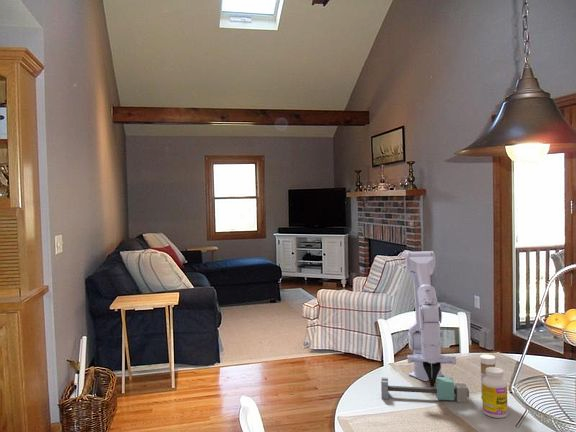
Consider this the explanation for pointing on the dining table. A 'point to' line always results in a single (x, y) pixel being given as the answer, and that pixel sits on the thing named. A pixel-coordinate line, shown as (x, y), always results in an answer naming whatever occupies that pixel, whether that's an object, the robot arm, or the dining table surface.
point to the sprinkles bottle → (486, 364)
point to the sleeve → (445, 388)
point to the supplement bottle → (494, 393)
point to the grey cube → (462, 393)
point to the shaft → (414, 389)
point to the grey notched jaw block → (384, 388)
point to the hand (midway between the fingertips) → (432, 385)
